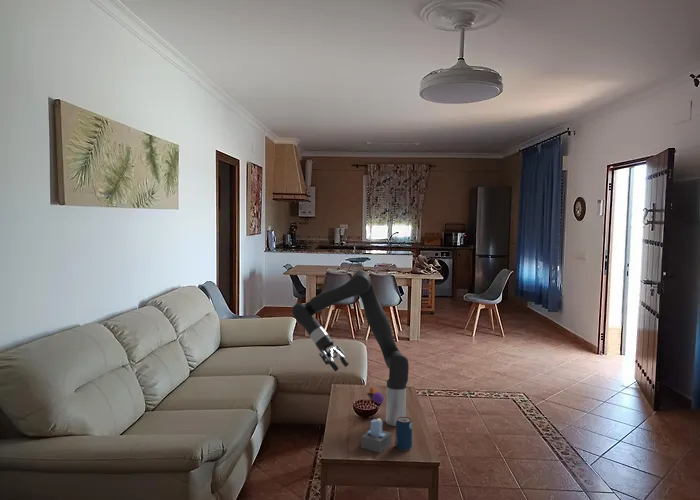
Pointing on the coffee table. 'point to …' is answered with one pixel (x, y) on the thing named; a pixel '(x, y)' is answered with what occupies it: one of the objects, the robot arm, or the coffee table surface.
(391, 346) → the robot arm
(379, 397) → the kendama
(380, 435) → the block
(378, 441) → the grey block with hole
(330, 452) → the coffee table surface
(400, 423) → the soda can
